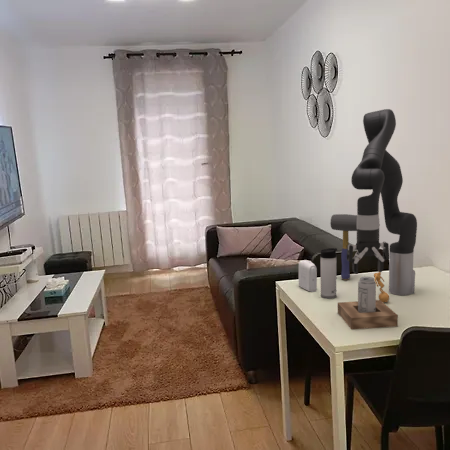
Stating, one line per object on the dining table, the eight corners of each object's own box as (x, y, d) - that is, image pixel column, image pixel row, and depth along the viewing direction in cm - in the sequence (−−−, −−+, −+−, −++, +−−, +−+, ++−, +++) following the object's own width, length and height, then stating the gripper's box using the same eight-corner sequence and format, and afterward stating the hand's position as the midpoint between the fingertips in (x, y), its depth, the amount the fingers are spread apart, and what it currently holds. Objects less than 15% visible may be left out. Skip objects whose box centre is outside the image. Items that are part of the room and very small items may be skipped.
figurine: (386, 306, 188) (386, 275, 186) (370, 303, 191) (370, 273, 189) (391, 299, 195) (392, 270, 192) (376, 297, 198) (377, 268, 196)
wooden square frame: (379, 310, 184) (380, 299, 183) (397, 326, 168) (397, 315, 167) (337, 312, 183) (337, 302, 182) (351, 329, 167) (351, 318, 166)
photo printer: (318, 291, 209) (318, 262, 207) (309, 292, 207) (309, 264, 205) (305, 284, 218) (305, 257, 216) (297, 286, 217) (296, 258, 215)
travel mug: (337, 299, 198) (337, 250, 194) (320, 298, 199) (320, 250, 196) (337, 294, 204) (337, 247, 200) (320, 293, 205) (320, 246, 202)
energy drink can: (378, 321, 173) (379, 280, 171) (362, 323, 172) (363, 281, 169) (370, 315, 179) (370, 275, 176) (354, 317, 178) (355, 277, 175)
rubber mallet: (329, 280, 224) (329, 215, 218) (334, 276, 230) (334, 212, 225) (357, 283, 217) (357, 216, 212) (361, 278, 224) (362, 213, 219)
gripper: (383, 223, 173) (383, 268, 176) (344, 226, 172) (344, 271, 175) (392, 227, 166) (392, 274, 169) (351, 230, 165) (351, 277, 168)
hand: (367, 272), depth 172 cm, fingers open, 8 cm apart
